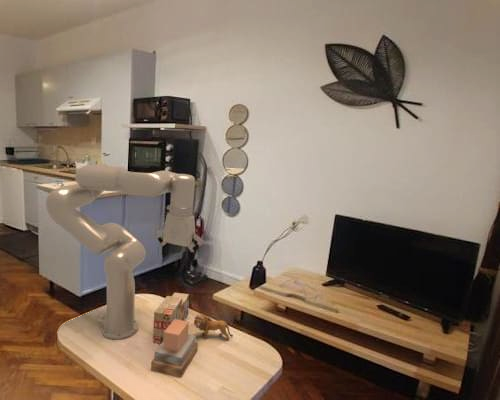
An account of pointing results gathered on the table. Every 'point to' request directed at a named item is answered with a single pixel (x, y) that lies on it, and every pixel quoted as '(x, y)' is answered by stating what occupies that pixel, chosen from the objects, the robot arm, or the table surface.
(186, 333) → the terracotta brick
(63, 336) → the table surface
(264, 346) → the table surface
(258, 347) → the table surface
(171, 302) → the stack of blocks
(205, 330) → the lion figurine
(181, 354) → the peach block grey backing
